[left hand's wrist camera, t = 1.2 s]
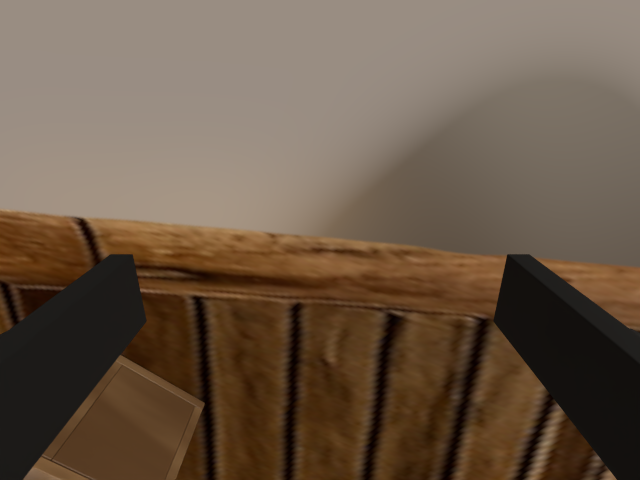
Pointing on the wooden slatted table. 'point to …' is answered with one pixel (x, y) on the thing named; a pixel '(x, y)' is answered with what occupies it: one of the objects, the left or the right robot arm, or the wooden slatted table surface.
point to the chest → (128, 428)
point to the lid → (51, 472)
